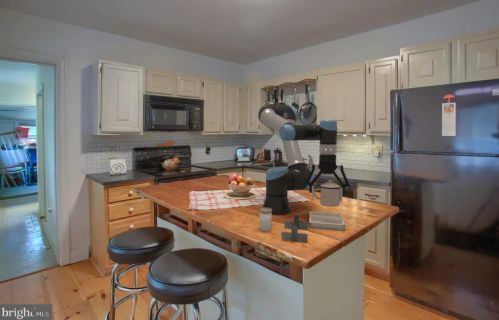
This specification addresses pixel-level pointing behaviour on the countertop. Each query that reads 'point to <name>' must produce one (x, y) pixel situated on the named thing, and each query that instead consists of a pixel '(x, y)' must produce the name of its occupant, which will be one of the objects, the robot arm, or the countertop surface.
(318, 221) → the tray
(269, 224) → the jar
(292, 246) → the countertop surface
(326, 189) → the teacup with lid
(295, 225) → the clip cradle
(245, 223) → the countertop surface
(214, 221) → the countertop surface
